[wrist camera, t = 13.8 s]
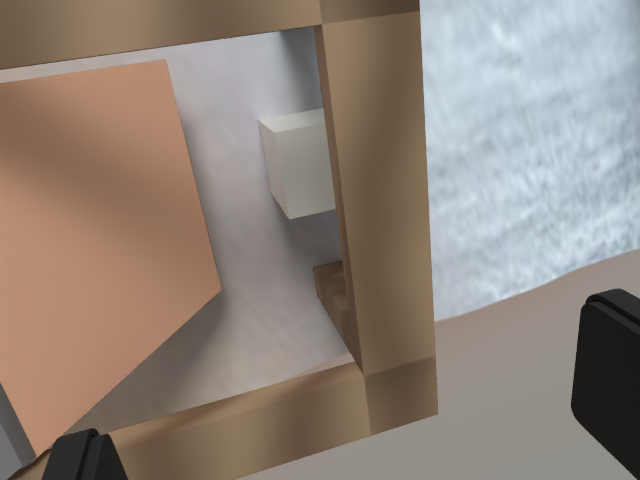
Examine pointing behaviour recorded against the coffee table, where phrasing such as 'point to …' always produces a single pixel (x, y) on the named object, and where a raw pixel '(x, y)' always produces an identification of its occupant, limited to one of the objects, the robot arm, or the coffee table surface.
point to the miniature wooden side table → (352, 214)
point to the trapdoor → (90, 243)
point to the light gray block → (298, 162)
